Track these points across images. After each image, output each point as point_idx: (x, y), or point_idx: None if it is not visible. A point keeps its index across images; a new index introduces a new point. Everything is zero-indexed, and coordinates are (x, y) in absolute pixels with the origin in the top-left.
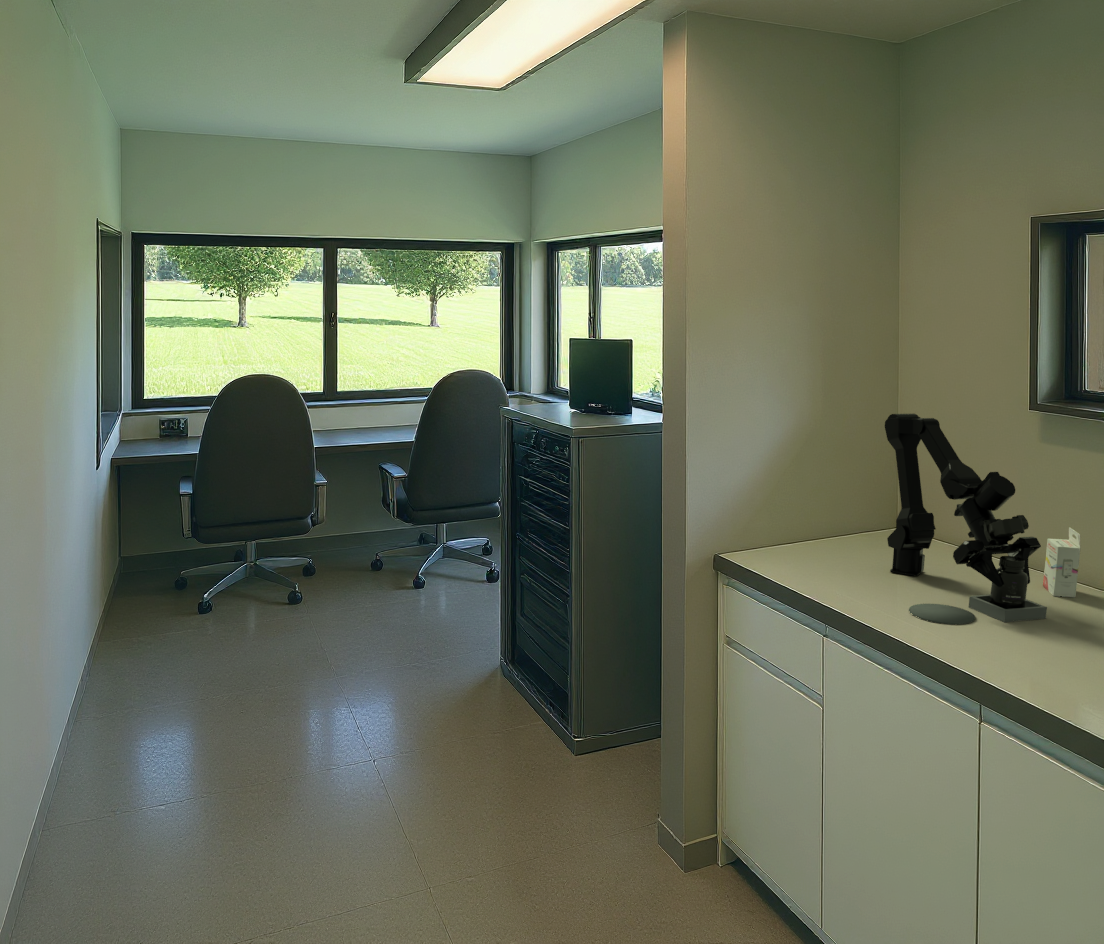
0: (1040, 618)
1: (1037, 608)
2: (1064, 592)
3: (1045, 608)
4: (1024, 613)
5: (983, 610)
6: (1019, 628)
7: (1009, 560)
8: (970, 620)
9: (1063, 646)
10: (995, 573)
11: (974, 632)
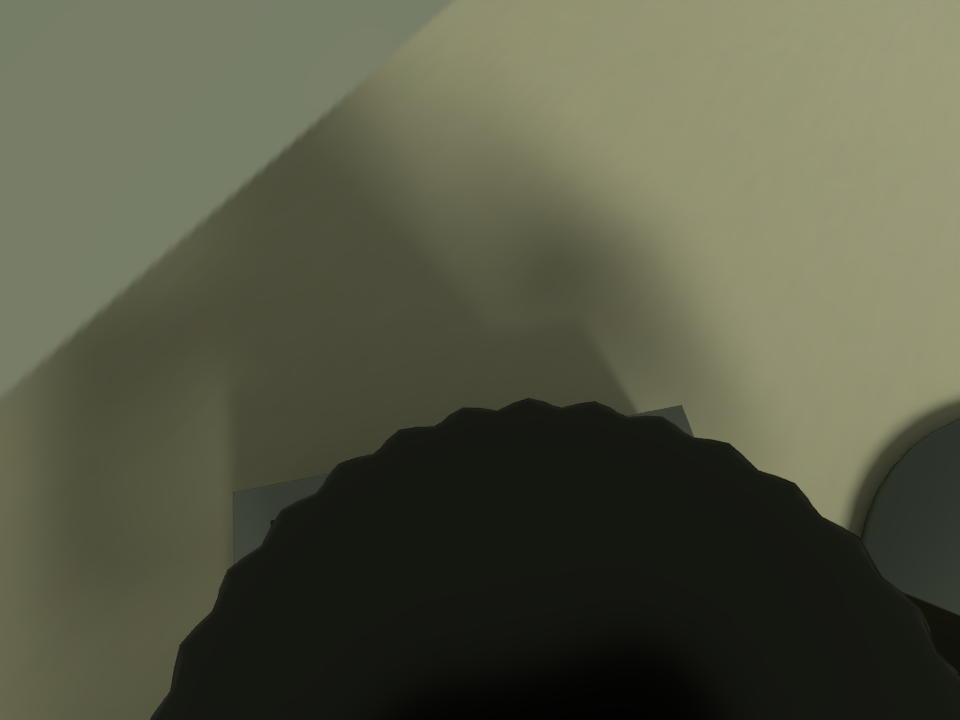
0: None
1: None
2: None
3: (254, 492)
4: None
5: None
6: (605, 323)
7: (804, 503)
8: (930, 443)
9: (516, 86)
10: (927, 616)
11: (933, 267)
